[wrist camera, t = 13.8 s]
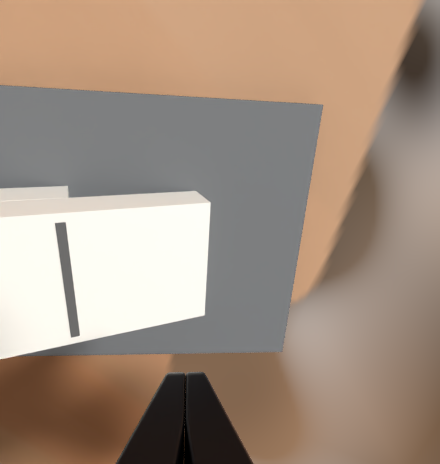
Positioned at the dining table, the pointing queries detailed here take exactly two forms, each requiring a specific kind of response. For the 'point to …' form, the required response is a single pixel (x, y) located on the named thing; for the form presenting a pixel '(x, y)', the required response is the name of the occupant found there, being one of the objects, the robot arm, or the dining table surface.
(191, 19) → the dining table surface
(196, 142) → the mat
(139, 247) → the domino
